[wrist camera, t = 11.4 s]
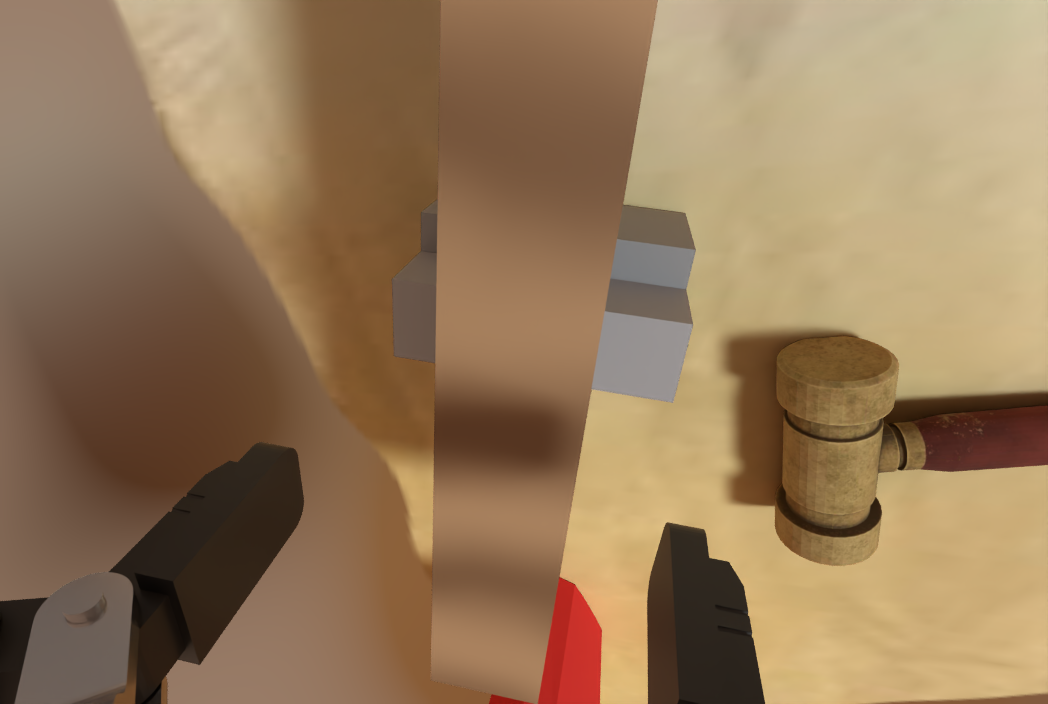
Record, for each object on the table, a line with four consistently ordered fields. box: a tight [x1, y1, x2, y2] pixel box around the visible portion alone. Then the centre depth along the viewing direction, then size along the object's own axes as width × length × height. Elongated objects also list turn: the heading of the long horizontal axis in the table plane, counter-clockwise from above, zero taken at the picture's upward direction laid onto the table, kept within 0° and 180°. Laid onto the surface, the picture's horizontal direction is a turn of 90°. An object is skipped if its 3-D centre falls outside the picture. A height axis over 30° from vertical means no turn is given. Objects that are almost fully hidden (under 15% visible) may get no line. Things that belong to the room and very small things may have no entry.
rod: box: [431, 0, 658, 704], centre depth 17 cm, size 24×4×5 cm, turn 175°
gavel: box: [775, 336, 1048, 566], centre depth 25 cm, size 21×5×10 cm
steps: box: [392, 199, 696, 403], centre depth 23 cm, size 6×10×8 cm, turn 85°
